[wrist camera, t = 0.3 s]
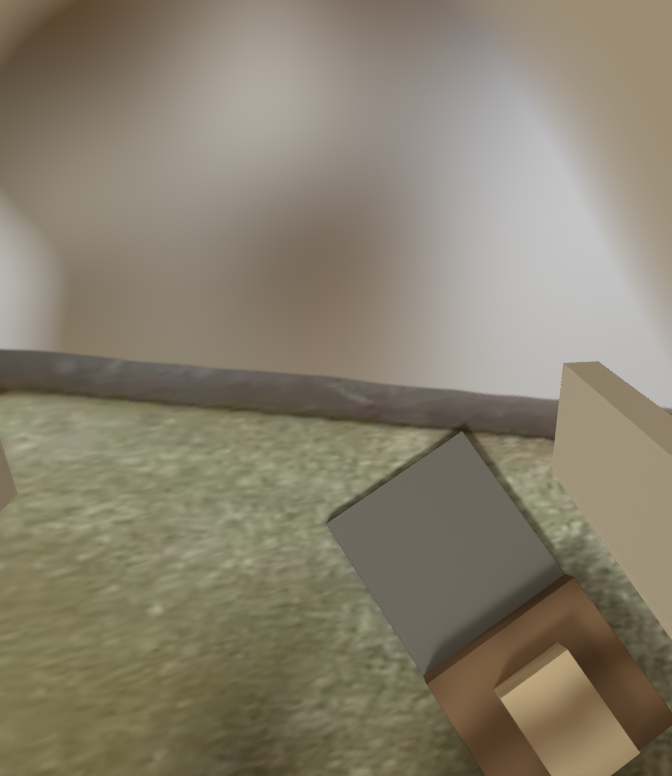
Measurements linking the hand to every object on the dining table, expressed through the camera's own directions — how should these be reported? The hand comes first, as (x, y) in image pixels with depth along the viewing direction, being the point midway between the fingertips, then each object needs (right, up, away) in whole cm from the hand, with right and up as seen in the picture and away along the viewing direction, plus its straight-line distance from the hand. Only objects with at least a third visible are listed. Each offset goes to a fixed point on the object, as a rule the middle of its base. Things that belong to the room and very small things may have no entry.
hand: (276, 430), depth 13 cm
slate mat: (+10, -12, +33) cm, 36 cm away
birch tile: (+18, -23, +28) cm, 40 cm away
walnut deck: (+17, -23, +30) cm, 42 cm away
